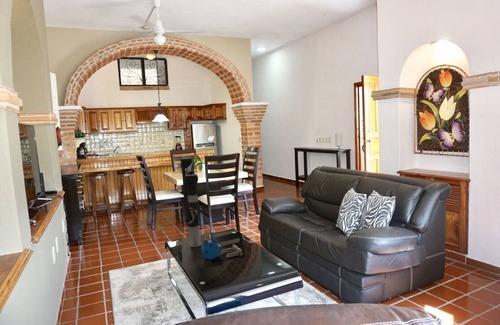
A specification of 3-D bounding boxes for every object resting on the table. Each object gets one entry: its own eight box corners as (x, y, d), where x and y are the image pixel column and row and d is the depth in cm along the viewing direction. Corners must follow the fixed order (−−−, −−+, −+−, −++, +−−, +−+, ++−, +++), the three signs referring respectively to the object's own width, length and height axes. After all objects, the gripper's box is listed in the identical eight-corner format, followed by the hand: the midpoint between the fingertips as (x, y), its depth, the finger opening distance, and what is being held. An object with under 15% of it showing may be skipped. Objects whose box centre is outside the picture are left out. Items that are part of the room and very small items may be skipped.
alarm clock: (218, 255, 276) (217, 236, 275) (220, 258, 271) (219, 238, 269) (202, 258, 272) (200, 239, 271) (203, 261, 266) (201, 241, 265)
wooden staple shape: (220, 252, 283) (220, 247, 282) (234, 249, 288) (234, 244, 287) (227, 258, 268) (227, 253, 268) (242, 255, 273) (241, 250, 273)
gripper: (186, 200, 276) (188, 222, 277) (190, 203, 264) (192, 225, 265) (195, 198, 279) (197, 220, 280) (200, 201, 267) (202, 224, 268)
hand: (195, 223), depth 273 cm, fingers closed
